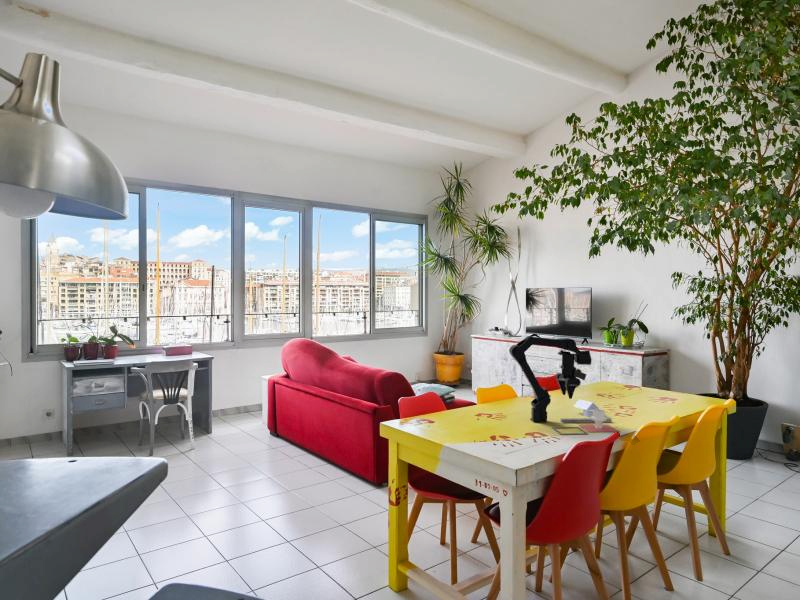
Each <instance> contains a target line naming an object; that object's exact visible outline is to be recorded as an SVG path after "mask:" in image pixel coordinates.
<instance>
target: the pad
mask: <svg viewBox="0 0 800 600" xmlns="http://www.w3.org/2000/svg"><path fill="white" fill-rule="evenodd" d="M602 425H603V426H602V429H597V428H595V424H578V427H579V428H581V429H582V430H584V431H587V433H620V432H621V430H618V429H617V428H615V427H614V426H612V425H610V424H607V423H605V424H602Z"/></svg>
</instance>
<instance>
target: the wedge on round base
mask: <svg viewBox="0 0 800 600" xmlns="http://www.w3.org/2000/svg"><path fill="white" fill-rule="evenodd" d="M573 408H577V409H581V410H582V414H583V416H584V417H585V418H586V417H587V418H590V417H591V416H593V409H601V410H603V409H602V408H600V407H599V406H597V405H596V404H595V403H594V402H593V401H589V400H584V399H580V398H579V399H578V400H577V402H576V403H575V404H574V405H573Z"/></svg>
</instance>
